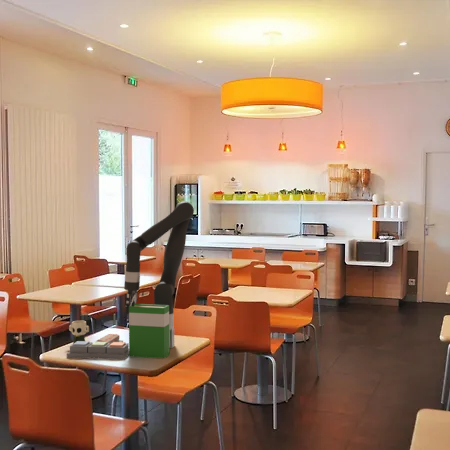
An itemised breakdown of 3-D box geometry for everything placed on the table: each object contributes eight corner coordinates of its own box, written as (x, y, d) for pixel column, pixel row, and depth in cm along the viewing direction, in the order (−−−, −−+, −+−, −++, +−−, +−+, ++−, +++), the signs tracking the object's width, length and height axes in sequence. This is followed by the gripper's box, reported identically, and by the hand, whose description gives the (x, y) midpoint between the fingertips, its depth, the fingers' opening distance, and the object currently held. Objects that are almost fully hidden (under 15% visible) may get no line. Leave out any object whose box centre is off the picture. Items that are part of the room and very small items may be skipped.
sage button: (107, 345, 285) (107, 341, 285) (103, 348, 280) (103, 344, 279) (95, 345, 286) (95, 341, 286) (91, 348, 280) (91, 344, 280)
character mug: (65, 348, 296) (65, 322, 296) (73, 344, 303) (72, 319, 303) (85, 349, 293) (85, 323, 293) (92, 346, 300) (92, 321, 300)
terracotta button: (125, 346, 285) (125, 342, 285) (122, 349, 279) (122, 345, 279) (113, 346, 285) (113, 341, 285) (109, 349, 279) (109, 344, 279)
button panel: (131, 352, 288) (131, 342, 287) (124, 359, 276) (124, 348, 275) (75, 351, 290) (75, 341, 290) (66, 357, 278) (66, 347, 278)
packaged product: (105, 332, 312) (123, 333, 309) (105, 341, 312) (123, 342, 310) (90, 340, 294) (109, 341, 292) (90, 350, 294) (109, 351, 292)
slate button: (89, 345, 286) (89, 341, 286) (85, 348, 280) (85, 344, 280) (77, 345, 287) (77, 341, 287) (73, 348, 281) (73, 344, 281)
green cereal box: (129, 356, 281) (128, 306, 280) (135, 352, 288) (134, 303, 287) (164, 358, 277) (164, 307, 276) (169, 354, 284) (169, 305, 283)
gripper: (136, 283, 288) (134, 315, 289) (142, 279, 302) (141, 310, 303) (121, 281, 289) (119, 314, 289) (128, 278, 303) (126, 309, 304)
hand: (130, 312), depth 296 cm, fingers open, 8 cm apart
